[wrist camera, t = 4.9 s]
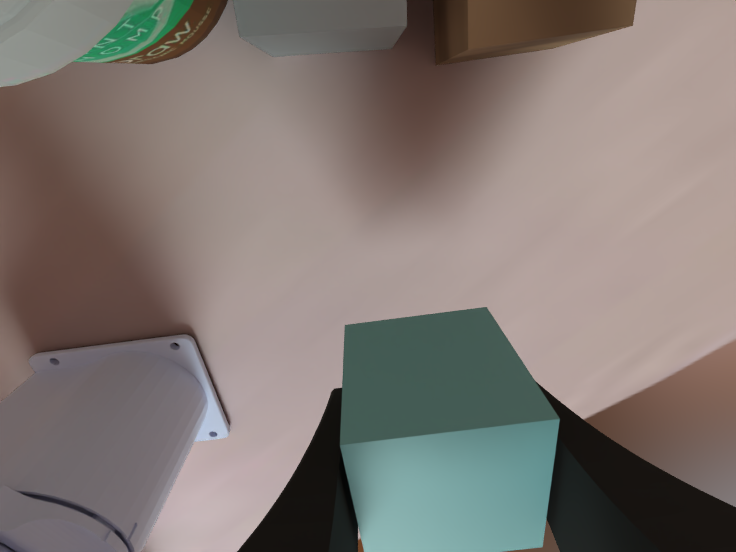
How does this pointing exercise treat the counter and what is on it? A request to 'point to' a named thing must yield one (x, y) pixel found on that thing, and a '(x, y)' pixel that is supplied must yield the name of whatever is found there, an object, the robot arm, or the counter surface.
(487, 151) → the counter surface
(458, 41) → the brass block
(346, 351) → the teal block
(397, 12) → the slate-grey block
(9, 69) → the food container
